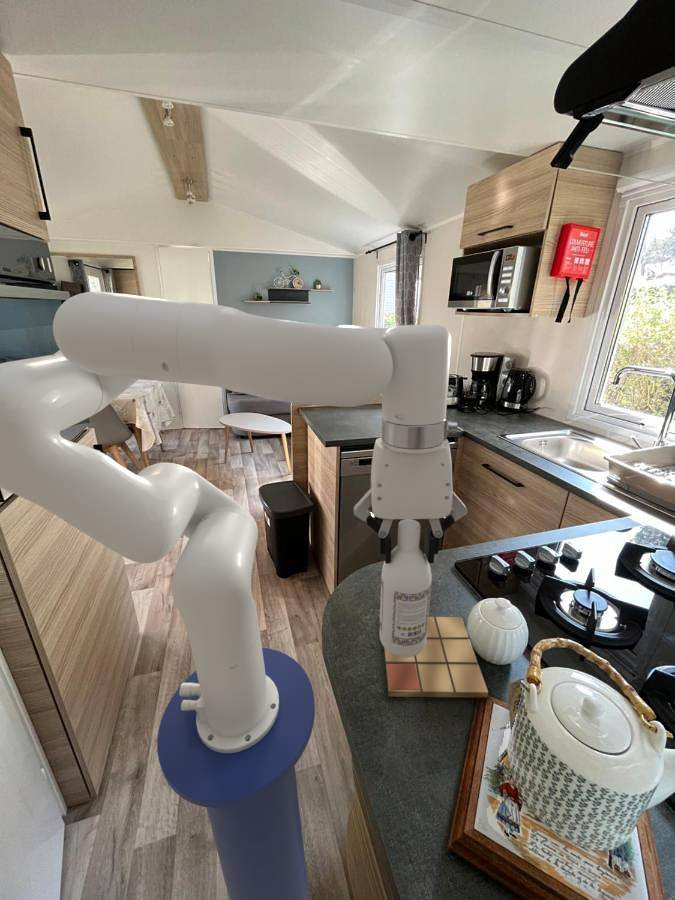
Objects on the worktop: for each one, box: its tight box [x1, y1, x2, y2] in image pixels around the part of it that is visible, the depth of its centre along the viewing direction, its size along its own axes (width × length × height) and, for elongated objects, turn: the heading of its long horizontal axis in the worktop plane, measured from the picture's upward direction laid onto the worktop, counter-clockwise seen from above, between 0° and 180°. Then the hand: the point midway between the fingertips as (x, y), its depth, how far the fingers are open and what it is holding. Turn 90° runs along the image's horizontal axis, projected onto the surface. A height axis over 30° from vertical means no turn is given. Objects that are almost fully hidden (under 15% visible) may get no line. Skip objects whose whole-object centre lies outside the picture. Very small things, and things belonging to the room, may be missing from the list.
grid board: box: [383, 616, 489, 699], centre depth 65 cm, size 15×15×1 cm
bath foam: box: [378, 519, 433, 657], centre depth 54 cm, size 7×7×20 cm
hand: (407, 556), depth 52 cm, fingers closed on bath foam, 5 cm apart
